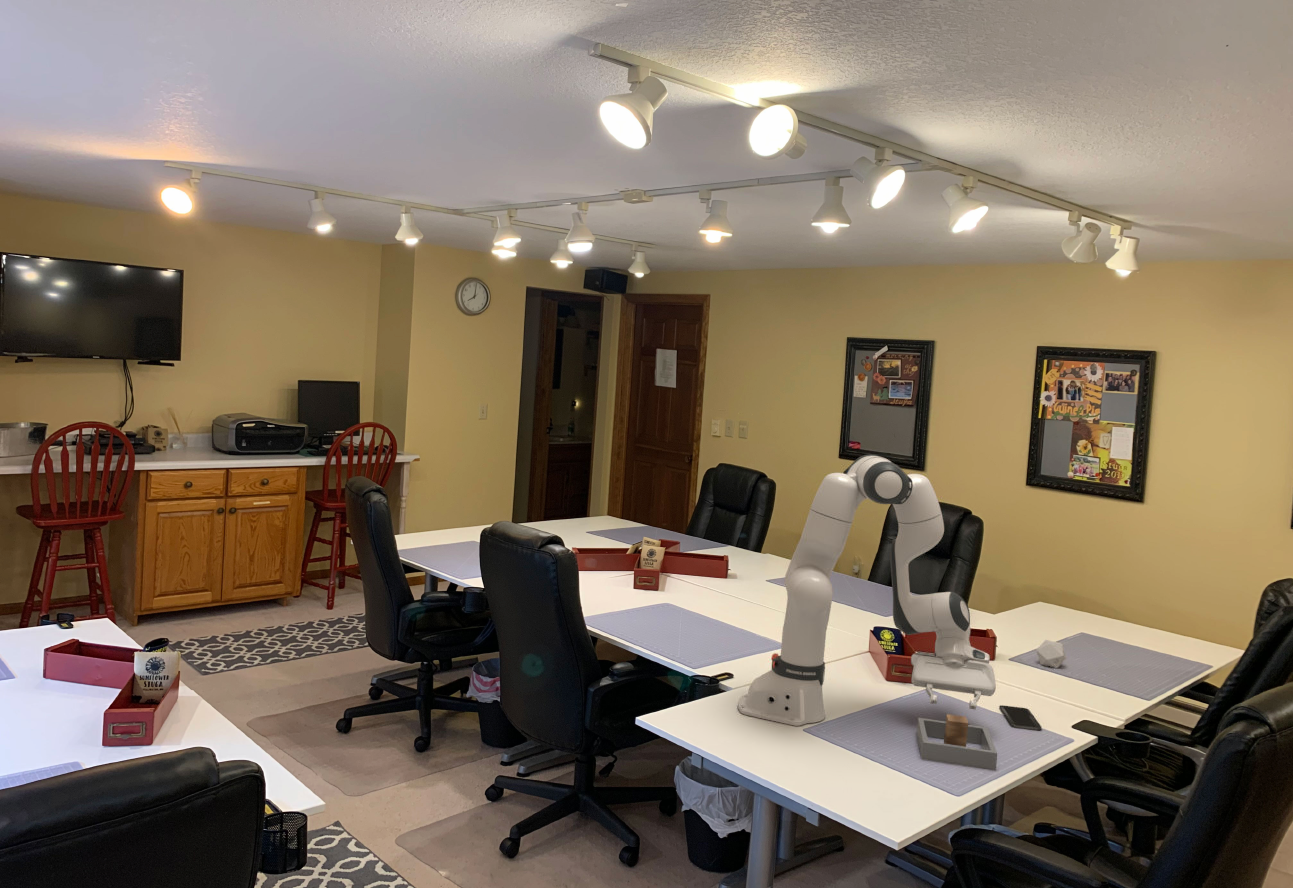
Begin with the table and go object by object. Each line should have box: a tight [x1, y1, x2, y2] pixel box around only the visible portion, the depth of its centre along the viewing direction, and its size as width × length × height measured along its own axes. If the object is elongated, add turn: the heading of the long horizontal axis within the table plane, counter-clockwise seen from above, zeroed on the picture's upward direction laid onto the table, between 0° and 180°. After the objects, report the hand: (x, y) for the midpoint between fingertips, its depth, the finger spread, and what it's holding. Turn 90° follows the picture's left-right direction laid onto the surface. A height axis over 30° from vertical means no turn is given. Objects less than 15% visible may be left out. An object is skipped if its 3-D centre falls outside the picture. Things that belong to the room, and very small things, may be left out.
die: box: [1035, 639, 1067, 669], centre depth 296 cm, size 8×9×10 cm
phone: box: [998, 704, 1042, 732], centre depth 245 cm, size 8×1×15 cm
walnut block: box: [943, 713, 969, 747], centre depth 219 cm, size 4×4×8 cm
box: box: [916, 717, 998, 771], centre depth 220 cm, size 16×16×4 cm
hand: (953, 705), depth 228 cm, fingers open, 8 cm apart
